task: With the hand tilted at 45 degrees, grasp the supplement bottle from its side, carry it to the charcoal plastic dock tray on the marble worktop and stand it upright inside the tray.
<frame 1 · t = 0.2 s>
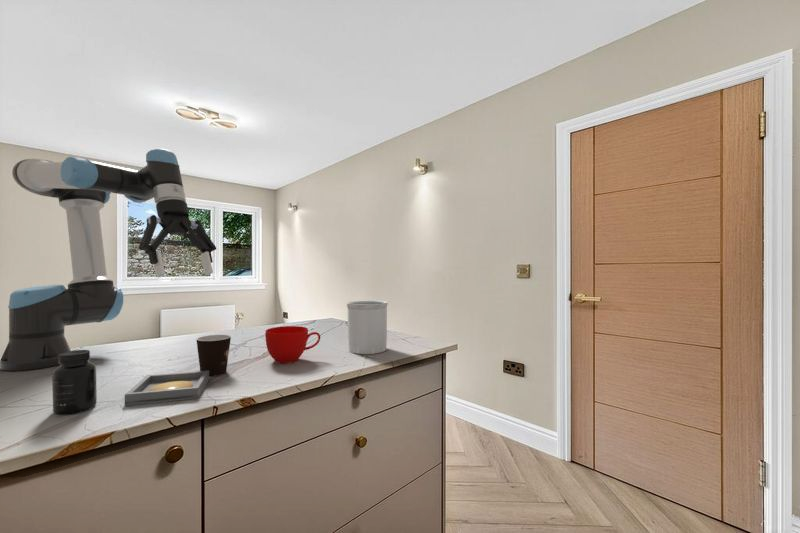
hand: (186, 275, 98), 28 cm above the worktop, tool tilted 20°, fingers open, 13 cm apart
ceramic cup: (293, 361, 114), on the worktop
supplement bottle: (74, 410, 74), on the worktop
coffee mug: (217, 372, 101), on the worktop
dock tray: (171, 391, 85), on the worktop
utensil holder: (366, 350, 129), on the worktop
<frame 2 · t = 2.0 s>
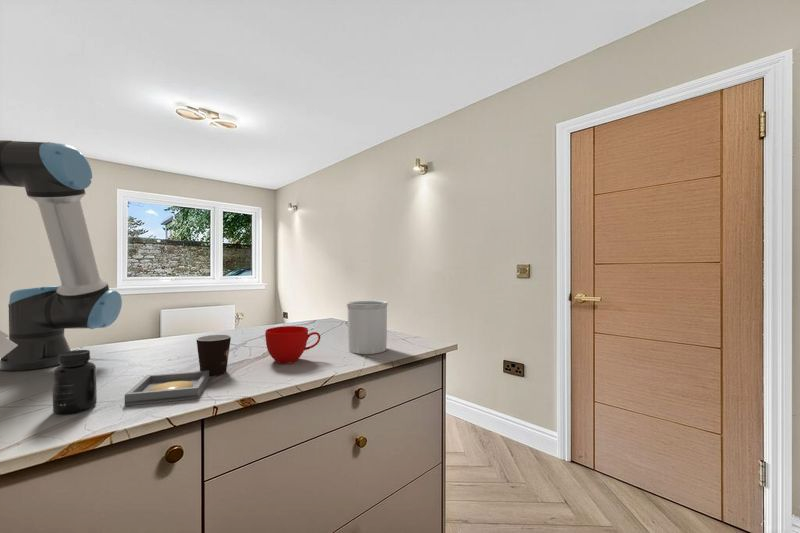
hand: (5, 346, 66), 15 cm above the worktop, tool tilted 45°, fingers open, 13 cm apart
nothing on the worktop moved.
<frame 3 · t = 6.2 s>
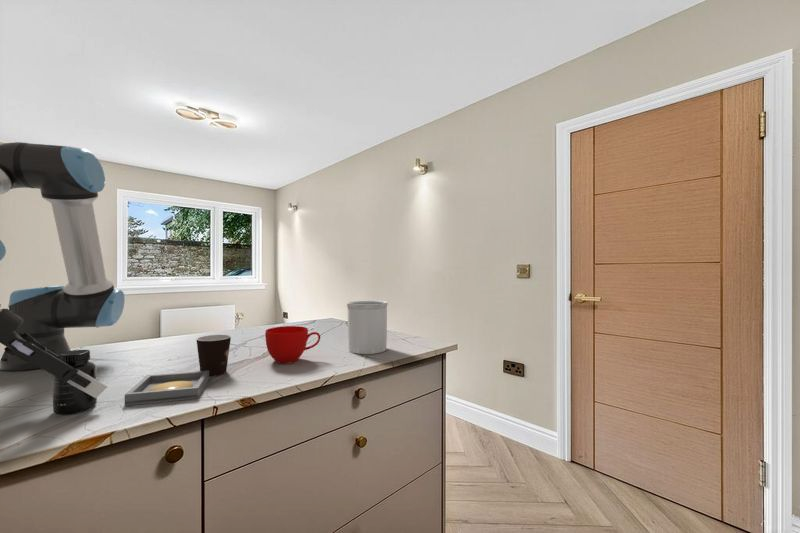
hand: (97, 388, 77), 3 cm above the worktop, tool tilted 45°, fingers closed on supplement bottle, 7 cm apart
supplement bottle: (75, 410, 74), on the worktop, touching gripper
everything else where it was.
when the fingers open (6 cm above the worktop, at t = 10.9 s): supplement bottle drops 1 cm, resting on dock tray.
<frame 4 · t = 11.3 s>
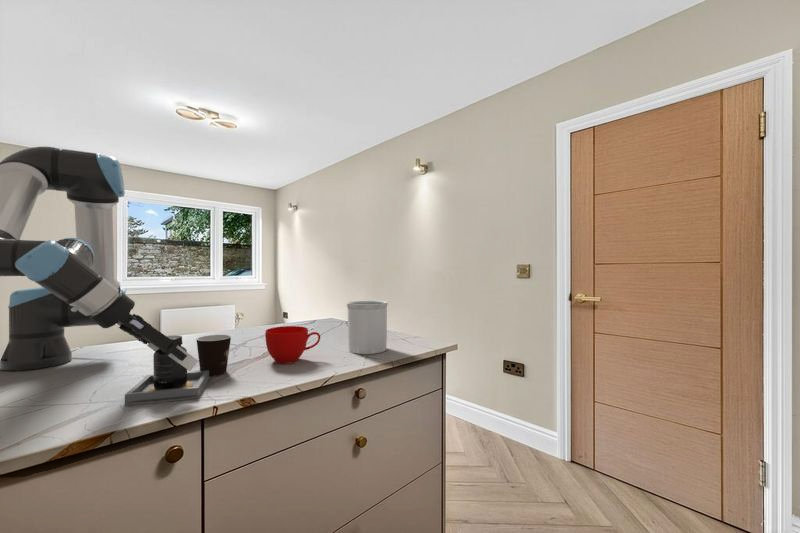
hand: (182, 360, 87), 7 cm above the worktop, tool tilted 45°, fingers open, 12 cm apart
supplement bottle: (170, 387, 85), point 1 cm above the worktop, touching dock tray
everything else where it was.
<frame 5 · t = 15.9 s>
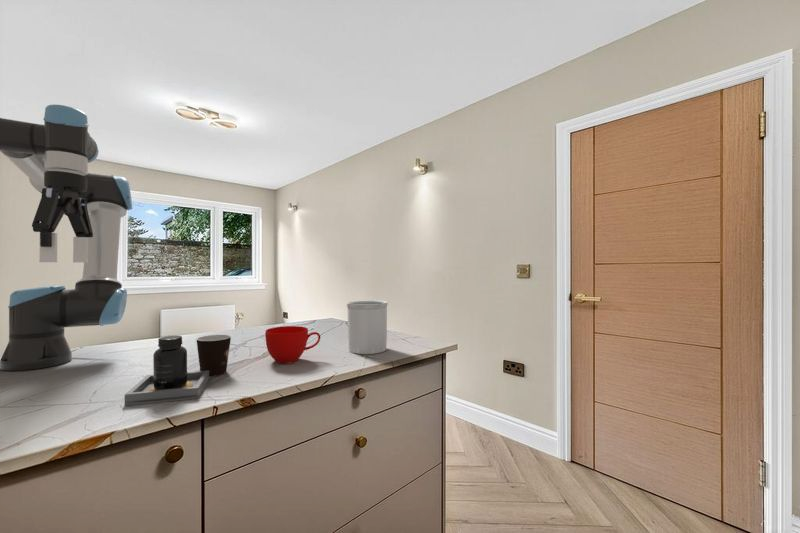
hand: (65, 262, 85), 31 cm above the worktop, tool pointing down, fingers open, 13 cm apart
nothing on the worktop moved.
at the end: supplement bottle inside the target area on the dock tray (0.3 cm from its centre), point 0.8 cm above the dock tray's base; supplement bottle tilted 0°; the gripper is holding nothing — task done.
